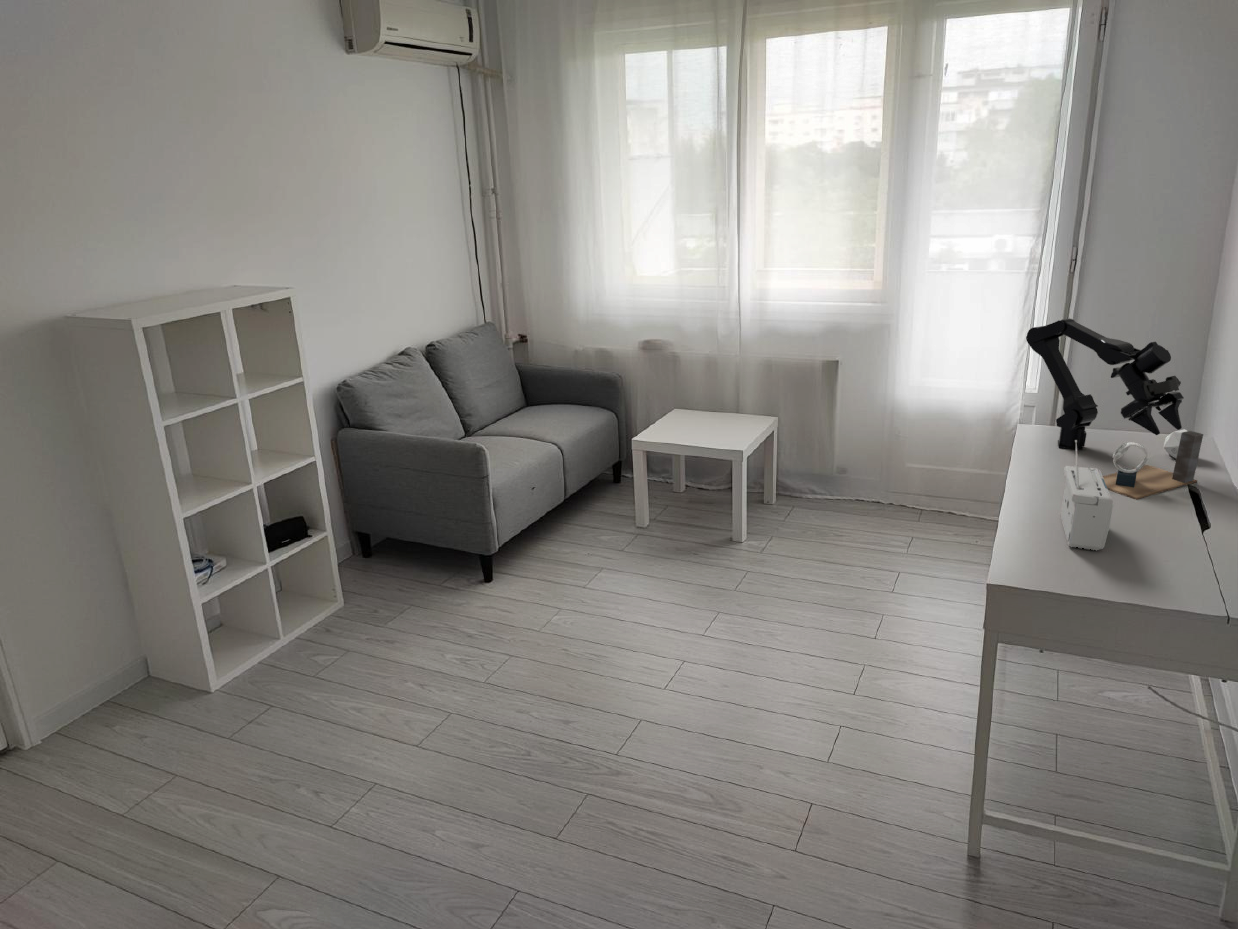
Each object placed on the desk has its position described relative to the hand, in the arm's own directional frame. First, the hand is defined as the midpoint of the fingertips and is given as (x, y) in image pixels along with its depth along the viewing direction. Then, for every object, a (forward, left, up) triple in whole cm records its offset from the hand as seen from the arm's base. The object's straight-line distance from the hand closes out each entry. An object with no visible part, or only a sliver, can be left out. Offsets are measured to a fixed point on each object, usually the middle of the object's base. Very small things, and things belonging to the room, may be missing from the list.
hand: (1169, 431), depth 238 cm
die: (+7, +18, -12) cm, 23 cm away
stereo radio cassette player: (-22, -50, -13) cm, 56 cm away
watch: (-10, -11, -12) cm, 19 cm away
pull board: (-5, -8, -12) cm, 16 cm away
